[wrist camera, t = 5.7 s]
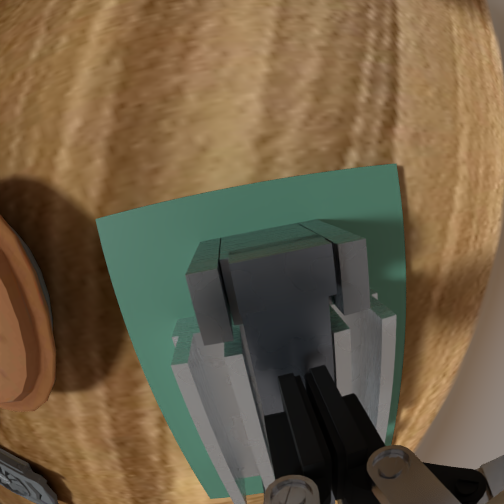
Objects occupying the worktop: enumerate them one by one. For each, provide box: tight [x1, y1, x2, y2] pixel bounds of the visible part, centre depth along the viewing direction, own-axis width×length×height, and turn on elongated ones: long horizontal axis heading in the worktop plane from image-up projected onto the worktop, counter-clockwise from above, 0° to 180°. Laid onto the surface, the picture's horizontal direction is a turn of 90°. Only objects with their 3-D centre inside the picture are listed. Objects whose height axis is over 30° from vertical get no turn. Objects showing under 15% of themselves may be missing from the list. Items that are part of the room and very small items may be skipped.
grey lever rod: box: [228, 234, 337, 504], centre depth 12 cm, size 19×3×2 cm, turn 10°
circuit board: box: [96, 164, 406, 499], centre depth 17 cm, size 24×16×1 cm, turn 10°
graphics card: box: [0, 448, 58, 504], centre depth 18 cm, size 17×4×12 cm
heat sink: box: [171, 219, 396, 504], centre depth 14 cm, size 18×10×6 cm, turn 10°
